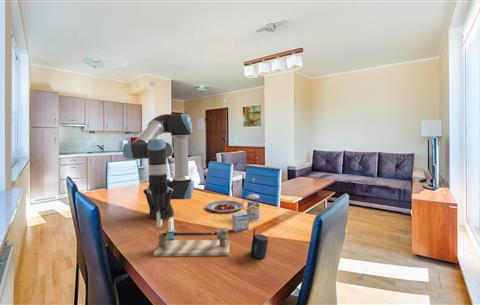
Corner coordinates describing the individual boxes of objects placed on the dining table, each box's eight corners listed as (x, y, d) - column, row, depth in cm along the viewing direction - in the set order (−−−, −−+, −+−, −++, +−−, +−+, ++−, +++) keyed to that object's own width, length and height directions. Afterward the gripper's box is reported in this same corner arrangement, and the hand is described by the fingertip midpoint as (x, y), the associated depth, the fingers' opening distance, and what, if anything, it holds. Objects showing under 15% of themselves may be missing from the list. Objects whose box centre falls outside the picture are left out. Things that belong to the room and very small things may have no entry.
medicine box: (235, 232, 126) (235, 216, 125) (232, 229, 130) (231, 214, 129) (248, 229, 130) (248, 214, 129) (244, 226, 133) (244, 211, 133)
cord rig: (153, 256, 102) (152, 236, 101) (162, 243, 114) (162, 225, 113) (228, 255, 102) (228, 235, 101) (229, 242, 114) (229, 224, 113)
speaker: (246, 256, 100) (248, 232, 99) (250, 251, 105) (253, 228, 105) (263, 262, 97) (266, 237, 96) (267, 256, 102) (270, 232, 102)
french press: (260, 222, 141) (260, 180, 139) (241, 220, 143) (240, 179, 141) (262, 216, 150) (262, 177, 148) (244, 215, 153) (243, 176, 151)
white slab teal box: (166, 240, 105) (165, 220, 105) (169, 236, 110) (168, 217, 109) (173, 240, 105) (172, 220, 105) (176, 236, 110) (175, 217, 109)
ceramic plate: (248, 212, 160) (248, 207, 160) (209, 216, 153) (209, 211, 152) (237, 201, 185) (237, 198, 184) (204, 205, 177) (204, 201, 177)
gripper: (139, 175, 102) (141, 229, 103) (170, 175, 102) (171, 229, 103) (146, 172, 109) (148, 223, 111) (175, 172, 109) (176, 222, 111)
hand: (159, 225), depth 107 cm, fingers closed
